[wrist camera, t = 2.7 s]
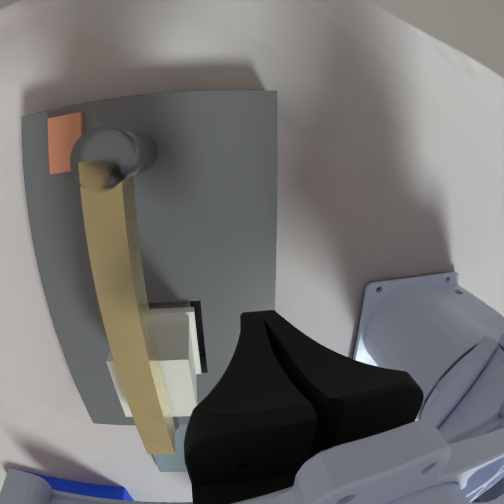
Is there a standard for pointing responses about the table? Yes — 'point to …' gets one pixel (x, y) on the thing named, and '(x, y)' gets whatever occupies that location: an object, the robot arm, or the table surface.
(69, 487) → the bracket
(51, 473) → the table surface
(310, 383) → the robot arm
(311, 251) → the table surface
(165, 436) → the brass flat bar
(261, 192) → the grey panel
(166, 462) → the mat
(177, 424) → the plug
